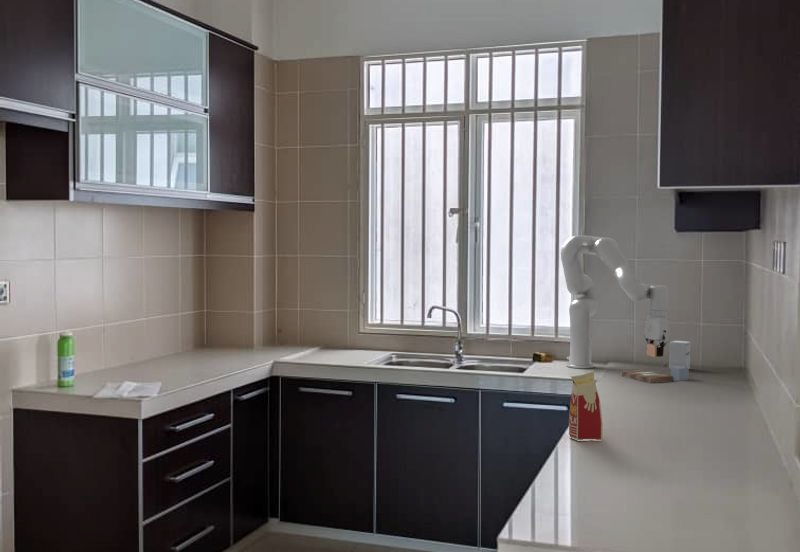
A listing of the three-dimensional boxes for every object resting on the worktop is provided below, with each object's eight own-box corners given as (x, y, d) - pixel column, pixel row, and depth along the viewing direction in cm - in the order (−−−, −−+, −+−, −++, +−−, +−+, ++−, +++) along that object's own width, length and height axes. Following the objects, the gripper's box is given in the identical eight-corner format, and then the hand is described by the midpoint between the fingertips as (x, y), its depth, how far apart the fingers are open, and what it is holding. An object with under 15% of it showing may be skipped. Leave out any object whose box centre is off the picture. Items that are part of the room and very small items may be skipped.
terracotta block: (646, 355, 356) (647, 343, 356) (655, 354, 358) (656, 343, 358) (654, 357, 352) (655, 345, 351) (663, 356, 354) (664, 345, 353)
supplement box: (685, 371, 362) (685, 343, 362) (668, 369, 367) (669, 341, 366) (690, 369, 368) (691, 341, 368) (673, 367, 373) (674, 340, 372)
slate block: (670, 378, 343) (670, 366, 343) (679, 377, 345) (680, 366, 345) (678, 380, 339) (679, 368, 338) (688, 379, 341) (688, 368, 340)
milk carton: (595, 434, 245) (596, 368, 244) (603, 442, 236) (605, 373, 235) (565, 434, 245) (566, 368, 244) (572, 442, 235) (573, 373, 234)
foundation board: (621, 375, 349) (621, 370, 349) (644, 374, 353) (644, 369, 353) (650, 382, 332) (650, 377, 332) (673, 381, 337) (673, 376, 337)
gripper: (637, 311, 360) (635, 352, 361) (664, 316, 344) (661, 358, 346) (651, 311, 363) (649, 351, 364) (678, 315, 347) (675, 358, 349)
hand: (655, 354), depth 355 cm, fingers closed on terracotta block, 5 cm apart
